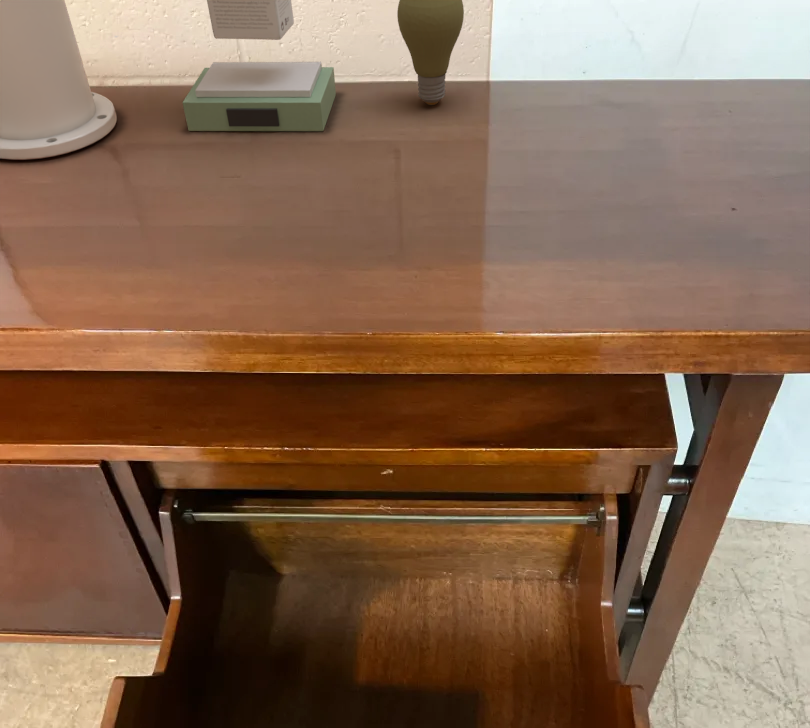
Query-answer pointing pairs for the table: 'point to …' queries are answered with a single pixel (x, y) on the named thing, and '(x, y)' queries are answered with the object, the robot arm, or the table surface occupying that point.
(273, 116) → the scale
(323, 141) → the table surface
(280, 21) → the cosmetic box
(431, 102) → the light bulb
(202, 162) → the table surface
